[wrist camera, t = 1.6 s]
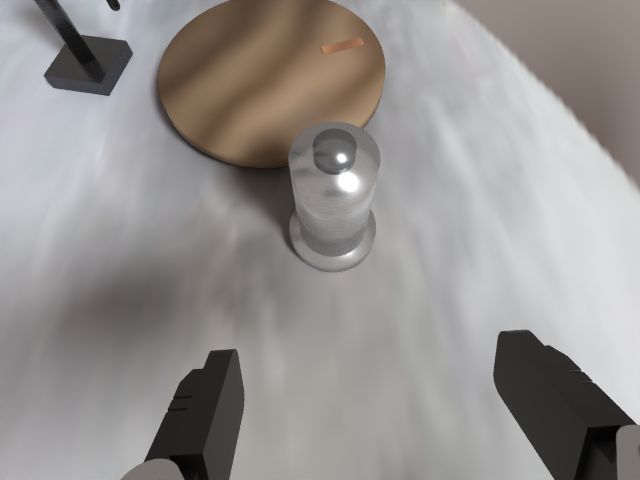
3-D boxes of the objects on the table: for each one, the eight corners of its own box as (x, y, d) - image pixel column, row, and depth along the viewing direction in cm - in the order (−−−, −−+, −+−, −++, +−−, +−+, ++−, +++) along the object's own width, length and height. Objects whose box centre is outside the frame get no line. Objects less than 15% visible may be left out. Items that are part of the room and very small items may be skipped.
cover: (275, 250, 30) (248, 170, 20) (313, 185, 32) (307, 84, 22) (353, 286, 28) (367, 220, 18) (387, 215, 31) (416, 122, 21)
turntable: (118, 117, 34) (109, 104, 33) (237, -14, 42) (234, -29, 40) (323, 204, 30) (323, 193, 28) (414, 40, 37) (418, 26, 36)
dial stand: (53, 87, 37) (-98, -88, 24) (80, 46, 40) (-43, -134, 26) (146, 101, 36) (42, -74, 23) (168, 58, 39) (86, -123, 25)
